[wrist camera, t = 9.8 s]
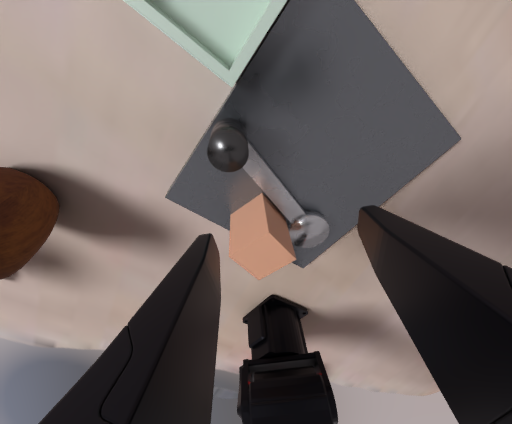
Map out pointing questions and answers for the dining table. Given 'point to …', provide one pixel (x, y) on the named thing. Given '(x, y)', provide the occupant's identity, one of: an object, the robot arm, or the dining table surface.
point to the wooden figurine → (23, 218)
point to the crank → (264, 180)
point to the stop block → (260, 238)
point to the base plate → (321, 122)
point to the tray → (213, 29)
